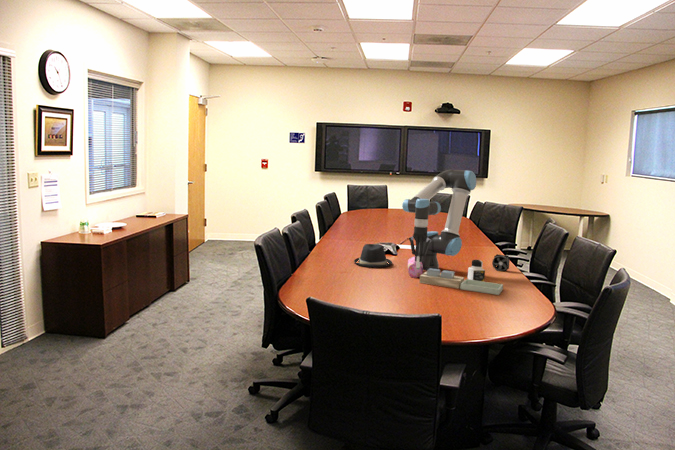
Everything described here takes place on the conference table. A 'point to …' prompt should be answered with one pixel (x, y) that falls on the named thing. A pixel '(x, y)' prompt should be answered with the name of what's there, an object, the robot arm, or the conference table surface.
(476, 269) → the medicine bottle
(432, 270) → the tile rear
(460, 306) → the conference table surface
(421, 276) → the wooden block
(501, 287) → the tray
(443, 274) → the tile front
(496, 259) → the cpu cooler
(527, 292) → the conference table surface
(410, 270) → the pencil case
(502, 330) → the conference table surface
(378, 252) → the fedora
